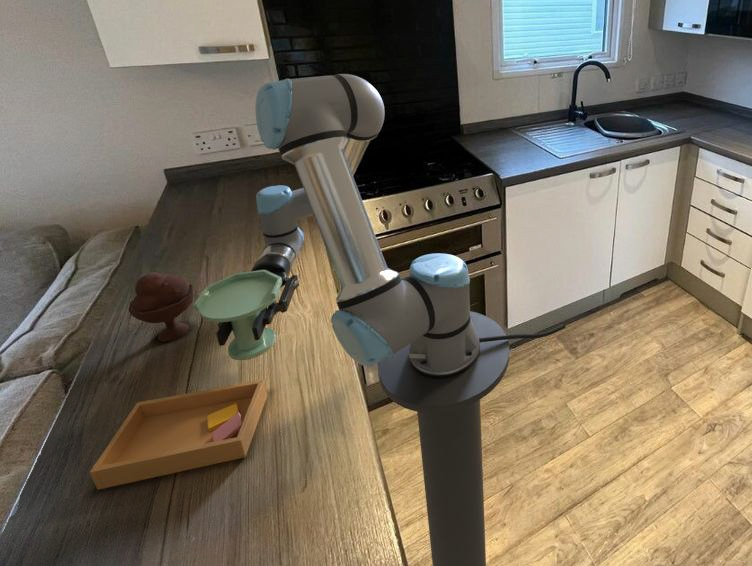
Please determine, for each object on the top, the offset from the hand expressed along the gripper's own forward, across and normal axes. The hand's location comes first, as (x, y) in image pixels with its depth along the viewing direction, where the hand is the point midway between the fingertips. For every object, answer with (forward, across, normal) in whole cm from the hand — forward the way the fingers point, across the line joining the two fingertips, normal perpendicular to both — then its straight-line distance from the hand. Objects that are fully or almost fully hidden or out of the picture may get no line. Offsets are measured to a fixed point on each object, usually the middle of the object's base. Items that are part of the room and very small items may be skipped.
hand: (238, 336), depth 80 cm
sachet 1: (+8, +2, -10) cm, 13 cm away
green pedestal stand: (-5, 0, -6) cm, 8 cm away
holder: (+10, +6, -11) cm, 16 cm away
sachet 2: (+12, 0, -10) cm, 15 cm away
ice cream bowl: (-20, +21, -12) cm, 31 cm away
